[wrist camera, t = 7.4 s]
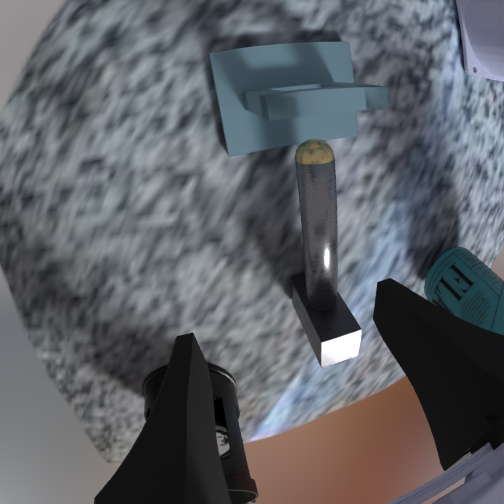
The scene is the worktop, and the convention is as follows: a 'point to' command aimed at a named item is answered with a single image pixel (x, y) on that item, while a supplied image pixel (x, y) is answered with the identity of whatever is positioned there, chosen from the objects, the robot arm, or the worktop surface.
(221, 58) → the eye bracket
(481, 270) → the beverage bottle
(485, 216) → the worktop surface
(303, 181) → the hook rod
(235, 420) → the french press
